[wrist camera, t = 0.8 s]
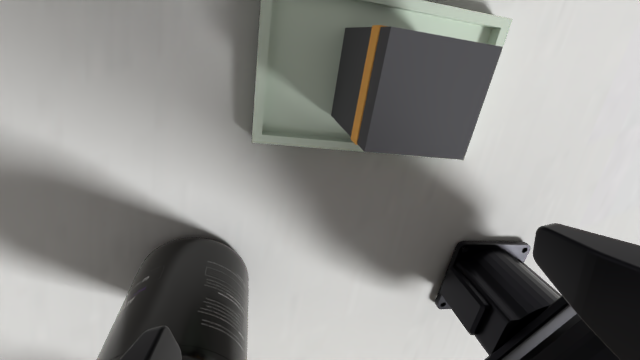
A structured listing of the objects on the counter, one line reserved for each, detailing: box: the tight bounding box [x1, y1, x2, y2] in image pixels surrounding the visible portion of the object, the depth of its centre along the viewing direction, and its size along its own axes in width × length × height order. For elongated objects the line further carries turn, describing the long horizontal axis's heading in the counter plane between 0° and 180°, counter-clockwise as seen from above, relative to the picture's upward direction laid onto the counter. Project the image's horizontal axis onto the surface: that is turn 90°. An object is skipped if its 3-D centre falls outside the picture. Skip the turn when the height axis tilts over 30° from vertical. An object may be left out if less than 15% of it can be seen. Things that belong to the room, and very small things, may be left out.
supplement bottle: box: [97, 237, 249, 360], centre depth 16 cm, size 7×7×12 cm
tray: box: [252, 0, 512, 160], centre depth 17 cm, size 13×8×1 cm, turn 81°
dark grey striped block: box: [331, 25, 503, 160], centre depth 15 cm, size 5×5×6 cm
